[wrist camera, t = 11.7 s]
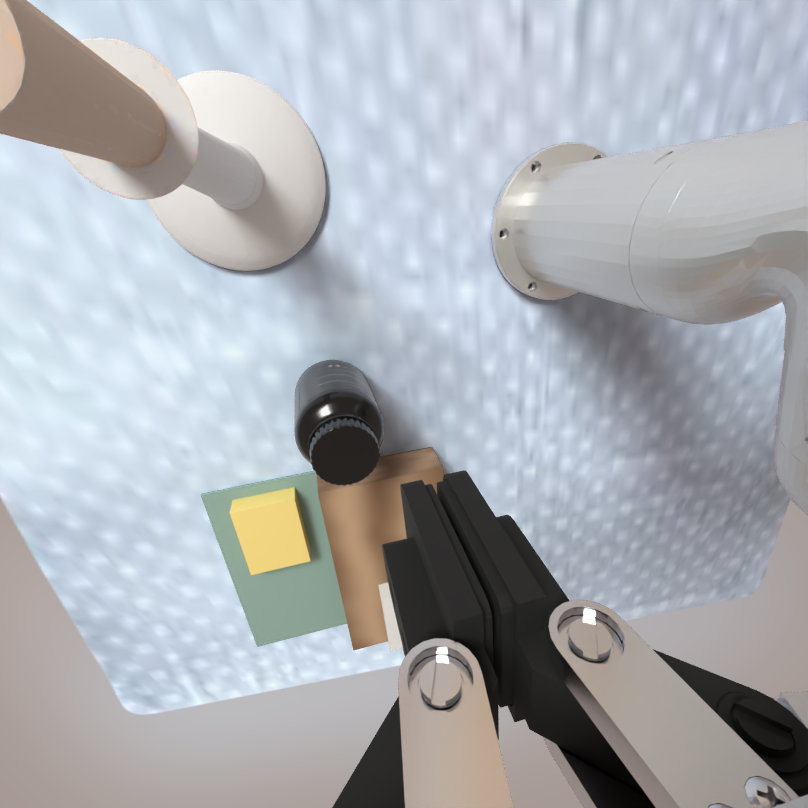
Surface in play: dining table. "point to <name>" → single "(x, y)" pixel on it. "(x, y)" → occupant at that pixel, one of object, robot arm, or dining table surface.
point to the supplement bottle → (337, 422)
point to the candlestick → (167, 139)
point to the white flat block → (390, 618)
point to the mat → (286, 587)
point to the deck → (370, 534)
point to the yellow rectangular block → (271, 530)
